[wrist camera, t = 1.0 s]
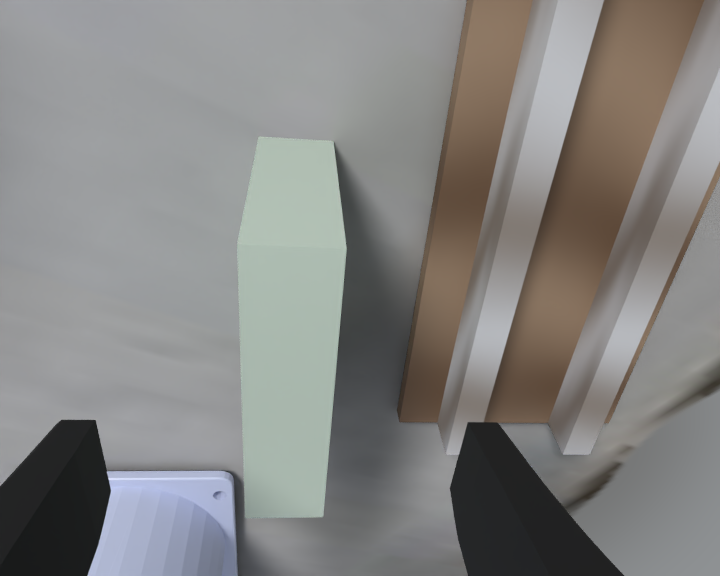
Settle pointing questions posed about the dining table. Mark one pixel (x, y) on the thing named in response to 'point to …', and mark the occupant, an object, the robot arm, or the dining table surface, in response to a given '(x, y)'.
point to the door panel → (289, 324)
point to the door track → (560, 209)
